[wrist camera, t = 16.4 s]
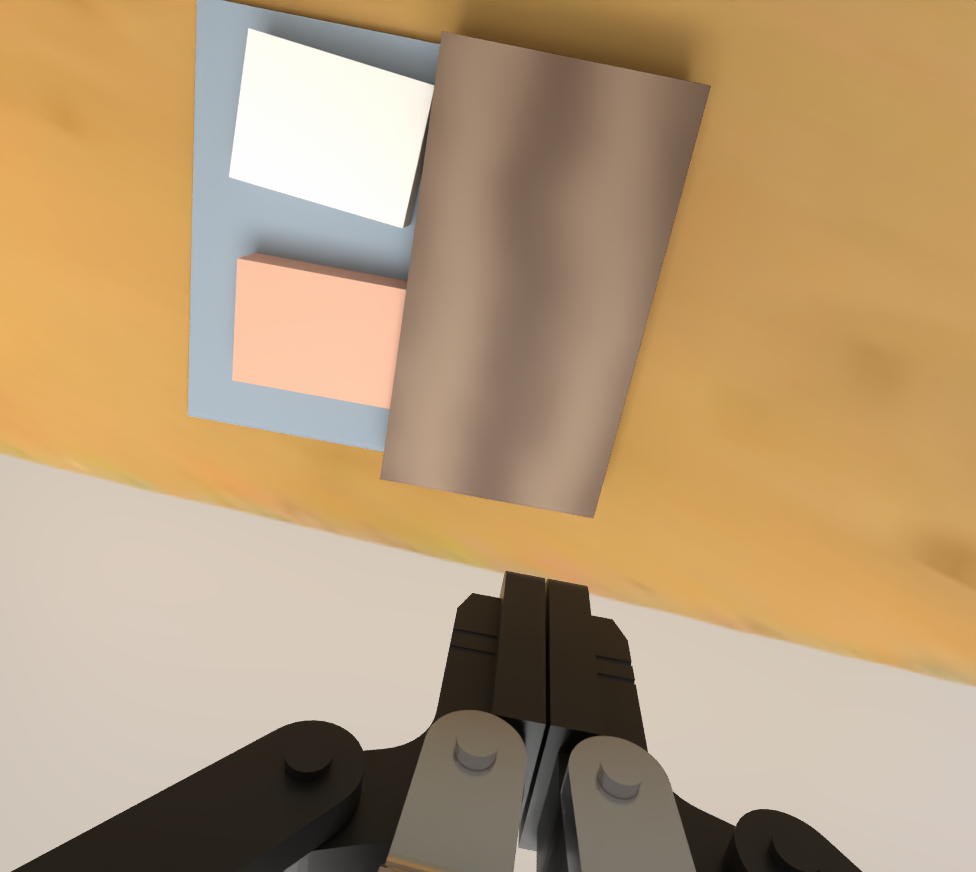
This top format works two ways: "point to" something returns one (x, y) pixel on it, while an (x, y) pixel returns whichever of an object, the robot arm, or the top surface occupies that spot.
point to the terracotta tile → (317, 329)
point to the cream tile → (330, 129)
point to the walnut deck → (533, 269)
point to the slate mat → (276, 223)
